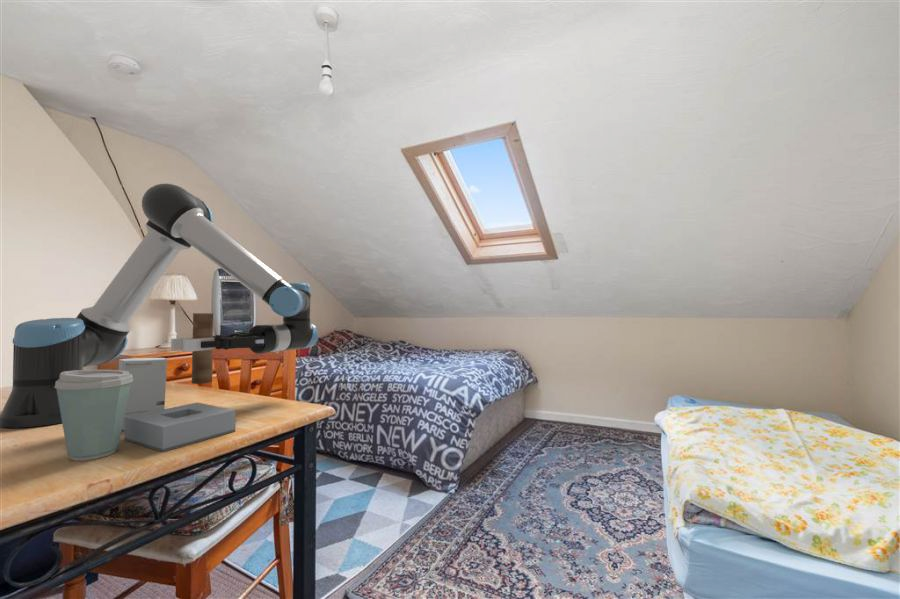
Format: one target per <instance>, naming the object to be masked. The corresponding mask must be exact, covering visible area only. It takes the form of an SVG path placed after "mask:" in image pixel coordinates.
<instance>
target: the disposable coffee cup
mask: <svg viewBox="0 0 900 599" xmlns="http://www.w3.org/2000/svg"><path fill="white" fill-rule="evenodd" d="M132 381H133V377H132V374H129V372H127V371H122V370H119V369H83V370H74V371H65V372H62V373H61V374H60V379H58V380H57V381H56V383H55V388H56V389H57V395H58V401H59V407H60V412H61V418H62V423H61V424H62V429H63V430H62V431H63V434H64V440H65V441H64V442H65V447H66V453H67V455H68V456H69V459H70V460H72V461H75V462H77V461H78V462H79V461H81V462H85V461H92V460H97V459H101V458H105V457H109V456H111V455H112V454H114V453H116V452H117V449H118V447H119V445H120V444H119V443H120V441H121V440H120V439H121V434H122V431H123V430H122V425H123V420H124V415H125V410H126V406H127V401H128V396H129V391H130V386H131V382H132ZM121 430H122V431H121Z"/></svg>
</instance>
